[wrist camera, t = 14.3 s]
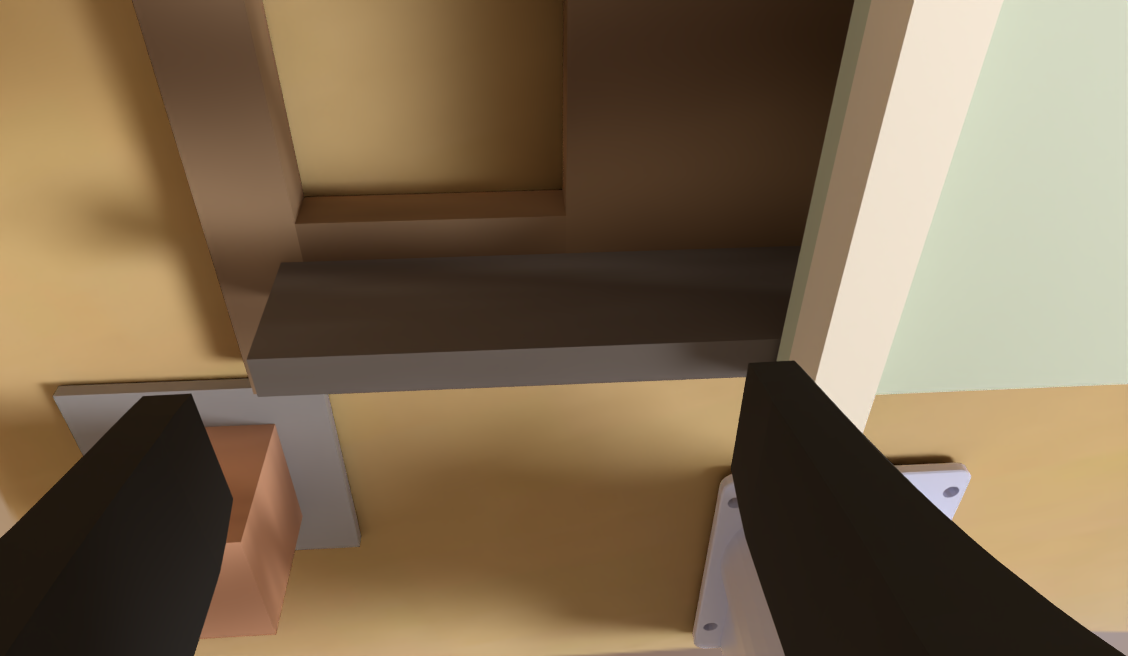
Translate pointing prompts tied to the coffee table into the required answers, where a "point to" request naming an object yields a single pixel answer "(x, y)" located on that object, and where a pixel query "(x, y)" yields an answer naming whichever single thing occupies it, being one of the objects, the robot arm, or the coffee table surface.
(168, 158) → the coffee table surface
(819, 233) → the cover
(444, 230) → the board
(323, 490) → the mat
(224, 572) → the block
